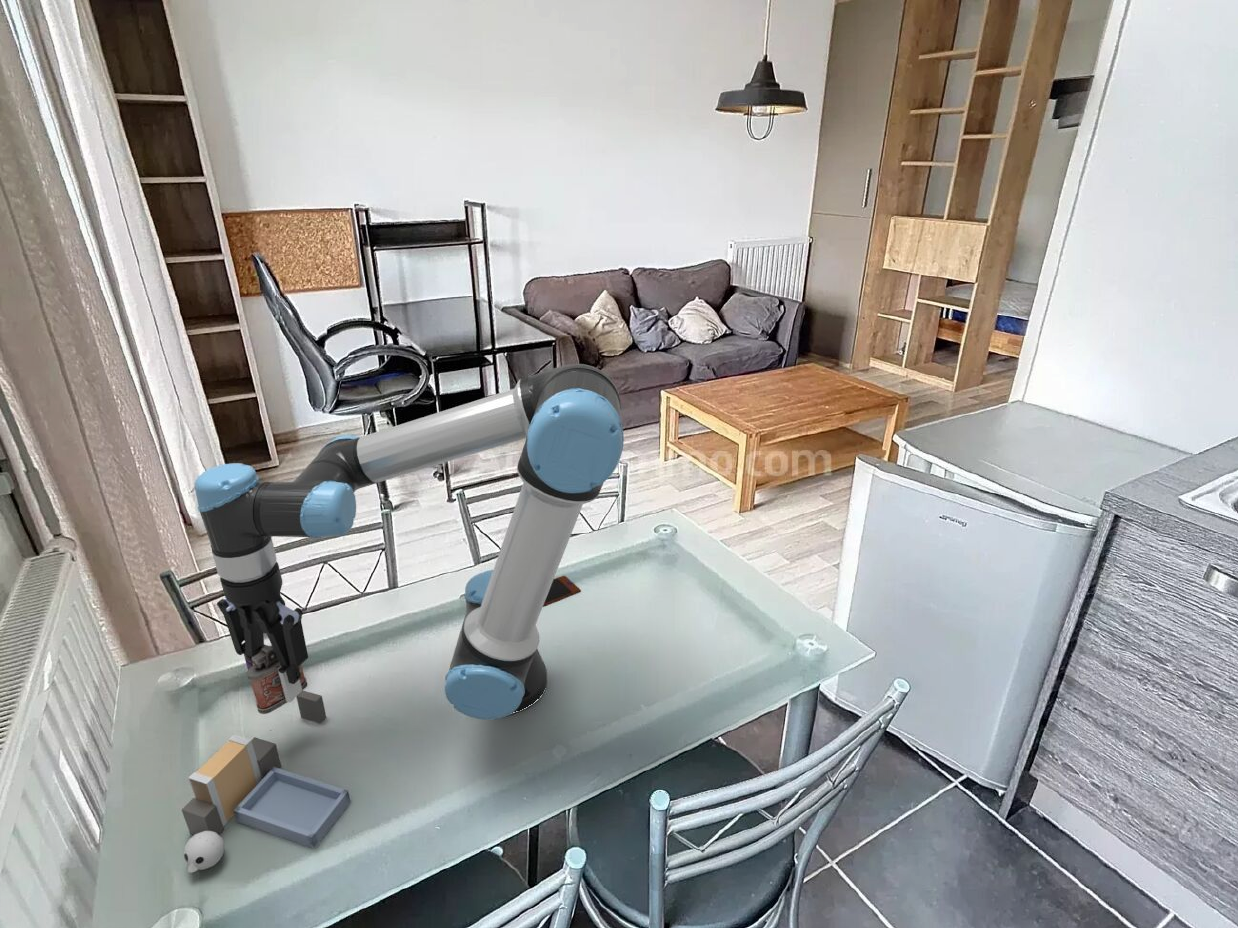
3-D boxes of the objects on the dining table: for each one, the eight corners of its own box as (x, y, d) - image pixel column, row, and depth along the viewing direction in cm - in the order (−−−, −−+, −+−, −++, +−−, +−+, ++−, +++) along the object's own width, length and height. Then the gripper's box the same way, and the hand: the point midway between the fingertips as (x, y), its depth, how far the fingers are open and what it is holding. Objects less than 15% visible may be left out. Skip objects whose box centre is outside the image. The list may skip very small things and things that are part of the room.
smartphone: (581, 589, 150) (521, 613, 142) (581, 593, 151) (521, 616, 143) (564, 574, 156) (506, 596, 148) (564, 577, 156) (506, 599, 148)
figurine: (177, 877, 91) (167, 853, 89) (203, 843, 95) (195, 819, 93) (210, 884, 90) (201, 860, 88) (235, 849, 95) (227, 826, 92)
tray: (350, 801, 102) (348, 790, 101) (314, 848, 95) (311, 837, 94) (276, 777, 105) (273, 766, 104) (237, 821, 98) (233, 810, 97)
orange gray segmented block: (326, 717, 116) (317, 676, 112) (212, 841, 96) (197, 796, 92) (306, 711, 117) (297, 670, 113) (190, 833, 97) (173, 788, 93)
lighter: (266, 717, 104) (251, 666, 99) (252, 708, 105) (237, 658, 101) (312, 685, 110) (300, 636, 105) (299, 677, 111) (287, 628, 107)
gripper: (316, 564, 98) (343, 687, 108) (222, 545, 102) (256, 665, 113) (278, 594, 92) (310, 722, 102) (179, 572, 96) (219, 696, 106)
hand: (282, 692), depth 107 cm, fingers closed on lighter, 4 cm apart
